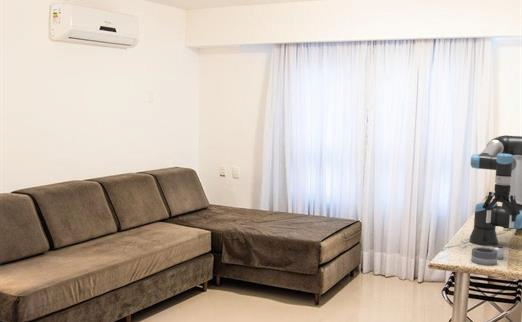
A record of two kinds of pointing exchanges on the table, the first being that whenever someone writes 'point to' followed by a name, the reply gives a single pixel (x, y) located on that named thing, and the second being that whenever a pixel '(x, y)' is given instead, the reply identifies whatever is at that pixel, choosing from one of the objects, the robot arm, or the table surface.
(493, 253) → the grey short cylinder
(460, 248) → the table surface
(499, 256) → the cap
